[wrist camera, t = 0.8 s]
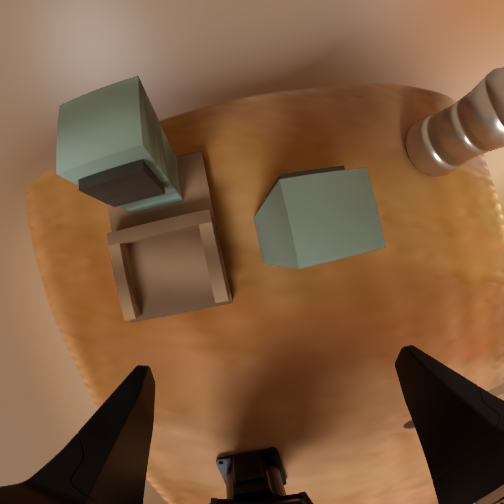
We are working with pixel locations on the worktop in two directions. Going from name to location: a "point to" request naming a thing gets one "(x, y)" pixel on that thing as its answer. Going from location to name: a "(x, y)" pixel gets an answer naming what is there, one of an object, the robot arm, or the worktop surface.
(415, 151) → the plastic bottle
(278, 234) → the block
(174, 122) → the worktop surface
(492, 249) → the worktop surface
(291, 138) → the worktop surface
